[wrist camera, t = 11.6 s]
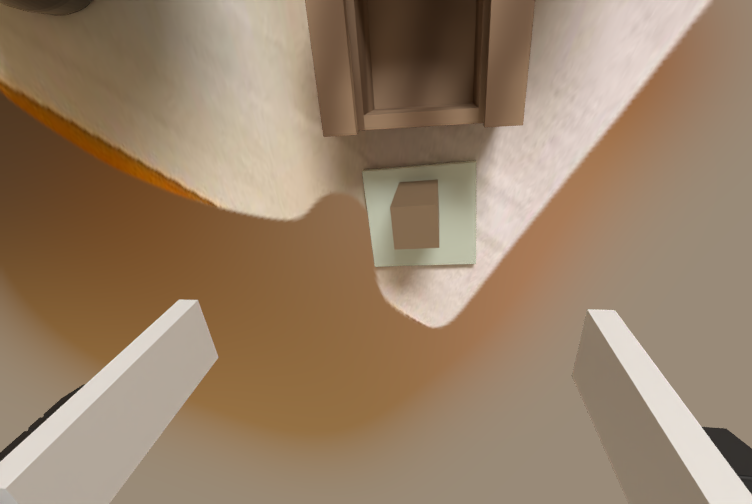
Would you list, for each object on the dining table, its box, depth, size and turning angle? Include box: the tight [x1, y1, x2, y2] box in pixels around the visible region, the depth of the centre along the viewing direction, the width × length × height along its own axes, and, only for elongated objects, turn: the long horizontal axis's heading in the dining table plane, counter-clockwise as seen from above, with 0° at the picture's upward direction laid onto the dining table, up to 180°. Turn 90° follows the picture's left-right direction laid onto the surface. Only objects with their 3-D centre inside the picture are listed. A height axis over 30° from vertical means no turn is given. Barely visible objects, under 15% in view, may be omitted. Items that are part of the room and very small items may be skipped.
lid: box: [362, 161, 476, 267], centre depth 31 cm, size 10×10×8 cm
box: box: [305, 0, 535, 137], centre depth 24 cm, size 13×12×8 cm
